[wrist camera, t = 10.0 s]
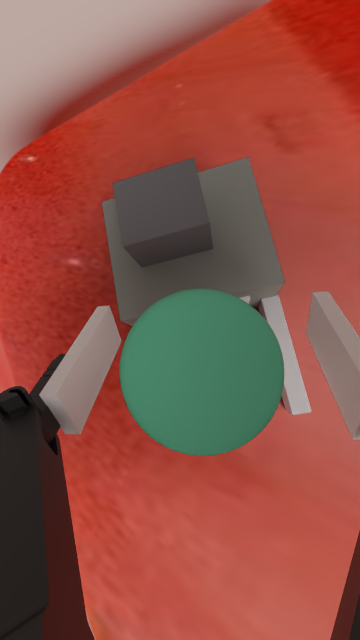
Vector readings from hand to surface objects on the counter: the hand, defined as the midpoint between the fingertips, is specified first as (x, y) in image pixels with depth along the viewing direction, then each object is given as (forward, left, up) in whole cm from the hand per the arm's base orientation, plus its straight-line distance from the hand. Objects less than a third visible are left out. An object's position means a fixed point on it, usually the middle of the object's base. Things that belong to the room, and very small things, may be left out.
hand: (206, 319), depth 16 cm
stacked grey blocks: (0, -3, -12) cm, 12 cm away
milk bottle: (0, +3, -12) cm, 12 cm away
